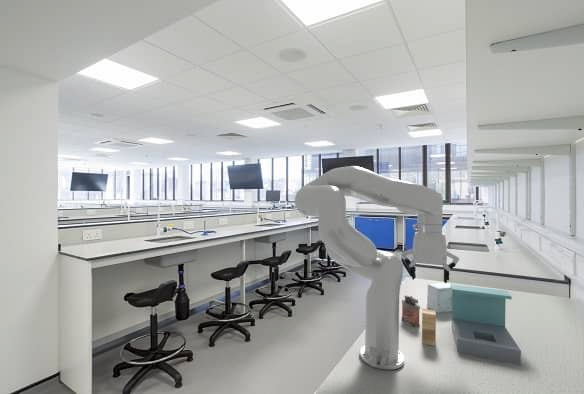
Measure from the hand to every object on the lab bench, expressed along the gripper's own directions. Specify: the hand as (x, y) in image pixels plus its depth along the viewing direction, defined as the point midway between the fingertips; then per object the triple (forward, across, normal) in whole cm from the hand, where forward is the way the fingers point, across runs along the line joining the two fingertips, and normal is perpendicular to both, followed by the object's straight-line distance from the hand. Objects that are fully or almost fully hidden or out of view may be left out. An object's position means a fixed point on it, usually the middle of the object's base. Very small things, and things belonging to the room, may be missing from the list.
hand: (428, 280), depth 96 cm
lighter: (+21, -6, +13) cm, 25 cm away
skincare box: (+21, +6, +34) cm, 40 cm away
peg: (+20, 0, 0) cm, 20 cm away
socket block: (+20, +16, +6) cm, 27 cm away
